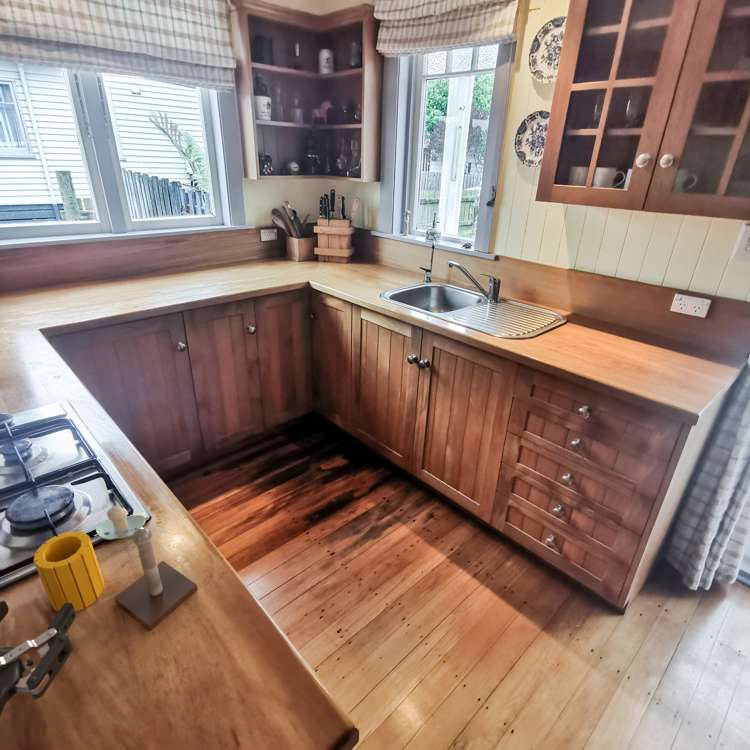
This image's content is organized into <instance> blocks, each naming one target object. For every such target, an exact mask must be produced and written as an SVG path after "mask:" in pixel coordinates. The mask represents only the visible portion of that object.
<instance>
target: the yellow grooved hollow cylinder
mask: <svg viewBox="0 0 750 750" xmlns="http://www.w3.org/2000/svg"><path fill="white" fill-rule="evenodd" d="M33 556H34V557H33V564H34V566H35V569H36V570H37V573H38V576H39V578H40V581H41V583H42V585H43V588H44V590H45V593H46V596H47V598H48V600H49V603H50V605H51V608H53V609H54V610H55V611H56V612H57V613H58V612H59V610H60V609H61V607H62V606H63V604H64V603H72V604H73V607H74V610H75V613H76V612H79V611H82V610H84V609H85V608H88V607H89V606H91V605H92V604H93V603H95V602H96V601H97V600H98V599H99V598H100V596H101V594H102V593H103V592H104V588H105V580H104V576H103V574H102V571H101V568H100V565H99V562H98V557H97V556H96V552H95V550H94V545H93V543H92V540H91V537H90V535H88V534H86V532H85V531H84V532H83V531H77V530H75V531H73V530H71V531H67V532H63V533H59V534H58V535H57V536H56V535H54V536H53V537H51V538H50V539H48V540H46V541H44V543H42V544H41V545H40V547H38V549H36V551H35V553H34V555H33Z"/></svg>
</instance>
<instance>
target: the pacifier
mask: <svg viewBox="0 0 750 750" xmlns="http://www.w3.org/2000/svg"><path fill="white" fill-rule="evenodd" d="M127 515H130V516H127ZM106 516H107V518H108V519H104V520H103V521H101V522H99V523H98V524H97V525H96V527H95V531H96V535H97V536H98V537H99V538H101V539H103V540H109V541H110V540H111V541H112V540H116V539H119V540H120V539H126V538H130V537H131V538H132V535H133V533H134V531H135V530H137V529H138V528H141V527H144V525H145V523H146V518H145V517H144V515H141V514H129V511H128V510H127V509H125V508H124V507H119V506H114V507H111V508H109V509H108V510H107V512H106Z"/></svg>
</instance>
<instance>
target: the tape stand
mask: <svg viewBox="0 0 750 750" xmlns="http://www.w3.org/2000/svg"><path fill="white" fill-rule="evenodd" d="M152 537H153V533H152V531H151V530H150V528H148V527H146V526H142V527H141V528H138V529H137V530H135V531H134V533H133V535H132V536H131V540H132V542H133V544H134V545H136V549H137V553H138V556H139V559H140V564H141V567H142V571H143V575H142V576H141V577H139V578H138V579H136V580H135V581H134V582H133V583H131V584H130V585H129V586H128V587H126V588H124V589H123V590H122V591H120V593H118V594H117V595H116V596H114V602H115V604H116V605H117V606H119V607H120V608H121V609H122V610H123V611H125V612H126V613H127V614H128V615H130V616H131V617H132V618H133V619H134V620H136V621H137V622H138V623H139V624H141V626H143V627H144V628H145V629H146V630H148V631H149V632H152V630H153V629H155V628H156V627H157V626H158V625H159V624H160V623H161V622H163V621H164V620H165V619H166V618H167V617H168V616H169V615H171V614H172V613H173V612H174V611H175V610H176V609H178V608H179V607H180V606H181V605H182V604H184V602H186V601H187V600H188V599H189V598H190V597H191V596H192V595H194V594H195V593H196V592H197V591H198V590H199V589H198V584H197V583H195V582H194V581H193V580H191V579H190V578H188V576H185V575H184V574H182V573H181V572H179V570H177V569H176V568H174V567H172V566H171V565H170V564H168V563H167V562H166V561H164V560H162V561H160V562H159V563H157V560H156V555H155V552H154V548H153V543H152Z"/></svg>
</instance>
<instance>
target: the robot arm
mask: <svg viewBox="0 0 750 750" xmlns="http://www.w3.org/2000/svg"><path fill="white" fill-rule="evenodd" d="M9 610H10V608H9V606H8V604H7V602H6V600H0V623H2V621H3V620H4V618H5V617H6V616H7V615H8V613H9ZM76 616H77V613H76V612H75V610H74V607H73V604H72V603H64V604H63V606H62V607H61V609H60V610H59V612H57V613H56V614H55V616H54V618H53V619H52V620H51V622H50V623H49V625H48V626H47V630H46V631H44V632H43V633H41V634H39V635H38V636H37V637H35V638H34V639H27V640H25V641H24V642H22V643H21V644H19V645H18V646H15V647H14V646H5V647H1V648H0V717H1V716H2V714H3V711H4V709H5V706H6V705H7V703H8V702H9V700H11V699H12V698H13V697H14V696H15V695H16V694H17V693H27V694H31V696H32V698H33V699H35V700H38V699H40V698H42V697H43V696H44V695H45V694H46V692H47V690H48V689H49V687H50V686H51V685H52V683H53V681H54V680H55V678H56V677H57V675H58V674H59V672H60V671H61V669H62V668H63V666H64V665H65V663H66V662H67V660H68V659H69V657H70V656H71V654H72V653H73V651H74V648H73V647H74V646H73V645H72V642H71V640H70V638H69V635H68V634H67V632H68V631H69V629H70V628H71V626H72V625H73V623H74V621H75V619H76ZM25 655H27V656H28V658H27V660H25V661H24V662H23V659H22V657H23V656H25Z"/></svg>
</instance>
